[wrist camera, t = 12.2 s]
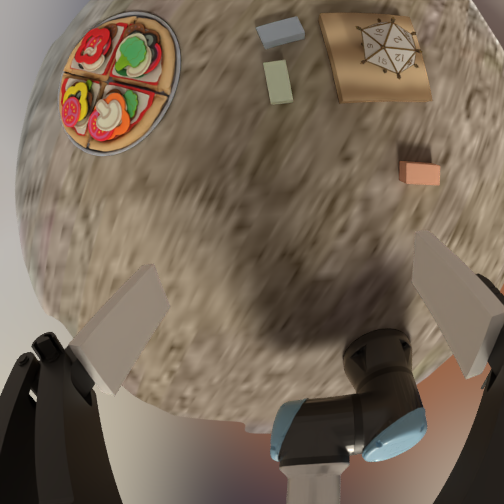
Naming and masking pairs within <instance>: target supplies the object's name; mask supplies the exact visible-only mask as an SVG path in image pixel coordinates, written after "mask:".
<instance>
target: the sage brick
mask: <svg viewBox="0 0 504 504" xmlns="http://www.w3.org/2000/svg"><path fill="white" fill-rule="evenodd" d="M263 65H264V70H265V76H266V81H267V86H268V91H269V97H270V102H271V104H272V105H276V104H283V103H291V102H293V97H292V91H291V86H290V81H289V76H288V71H287V66H286V61H285V60H280V61H273V62H266V63H263Z"/></svg>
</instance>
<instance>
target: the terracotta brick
mask: <svg viewBox="0 0 504 504" xmlns="http://www.w3.org/2000/svg"><path fill="white" fill-rule="evenodd" d="M399 180H400V181H402V182H404V183H406V184H425V185H439V182H440V166H439V165H436V164H433V163H423V162H409V161H399Z"/></svg>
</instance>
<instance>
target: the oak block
mask: <svg viewBox="0 0 504 504" xmlns="http://www.w3.org/2000/svg"><path fill="white" fill-rule="evenodd" d="M392 17H394V18H395V19H396V20H395V22H394V23H396V24H397V25H399V26H400V27H402V28H403V29H405V30H406V31H408V32H409V33H412V32H415V31H414V28H413V25H412V23H411V20H410V17H405V16H397V15H387V14H374V13H320V15H319V20H318V22H319V25H320V28H321V31H322V35H323V38H324V42H325V45H326V49H327V52H328V56H329V60H330V64H331V68H332V72H333V76H334V80H335V85H336V89H337V94H338V99H339V104H341V103H356V102H385V101H402V102H428V101H432V95H431V90H430V86H429V81H428V77H427V72H426V68H425V64H424V61H423V57H422V53H421V54H420V53H418V52H417V53H416V59H415V64H417V65H418V66H419V68H416V67H414V65H413V66H411V67H409V68H408V69H406V70H404V71H403V72H401V73H400V75H401V79H400V80H399V79H398V78H397V74H395V73H393V72H390V71H388V70H387V73H384V72H383V70H384V69H383V68H381V67H378V66H376V65H373V64H371V63H369V62H366V63H364V64H360V63H361V61H362V60H365V58H364V49H363V46H362V45H361V43H363V42H362V35H361V31H360V30H358V29H356V27H355V26H359V27H361V28H362V29H363V28H365V27H368V26H371V25H373V24H376V23H379V22H378V21H377V19H378V18H379V19H381V22H391V18H392ZM413 39H414V43H415V46H416V49H420V47H419V43H418V40H417V37H416V35H413Z"/></svg>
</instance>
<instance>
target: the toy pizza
mask: <svg viewBox="0 0 504 504" xmlns="http://www.w3.org/2000/svg"><path fill="white" fill-rule="evenodd" d="M180 69H181V55H180V48H179V44H178V41H177V38H176V36H175V34H174V32H173V31H172V29H171V28H170V27H169V26H168V24H167V23H166V22H164V21H163V20H162V19H160V18H159V17H157V16H155V15H152V14H149V13H145V12H127V13H122V14H118V15H116V16H113V17H111V18H108V19H107V20H105V21H103V22H101V23H100V24H98V25H97V26H96V27H94V28H93V29H92V30H90V31H89V32H88V33H87V34H86V35H85V36H84V37H83V39H82V40H81V41H80V42H79V43H78V44H77V46H76V47H75V48H74V50H73V51H72V53H71V55H70V56H69V59H68V61H67V63H66V65H65V67H64V70H63V73H62V76H61V79H60V84H59V90H58V111H59V117H60V121H61V124H62V126H63V129H64V131H65V133H66V134H67V136H68V138H69V139H70V140H71V141H72V143H73V144H74V145H76V146H77V147H78V148H79V149H81V150H82V151H84V152H86V153H89V154H92V155H97V156H109V155H115V154H118V153H121V152H124V151H126V150H128V149H130V148H132V147H133V146H135V145H136V144H138V143H139V142H140V141H142V140H143V139H144V138H145V137H146V136H147V135H149V133H150V132H151V131H152V130H153V129H154V128H155V127H156V126H157V124H158V123H159V122H160V120H161V119H162V118H163V116H164V114H165V113H166V111H167V109H168V108H169V106H170V104H171V102H172V99H173V97H174V94H175V92H176V88H177V85H178V81H179V76H180Z"/></svg>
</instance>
